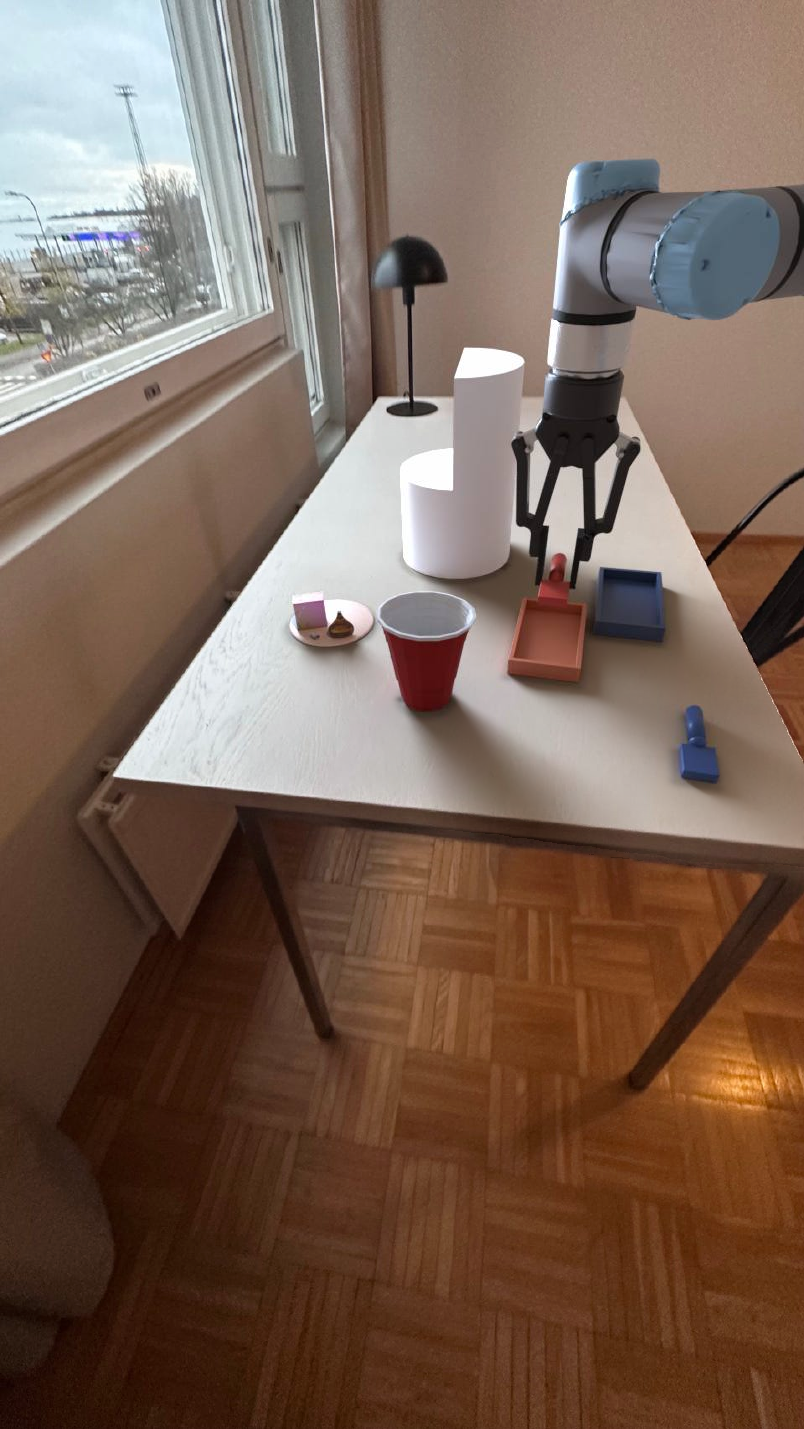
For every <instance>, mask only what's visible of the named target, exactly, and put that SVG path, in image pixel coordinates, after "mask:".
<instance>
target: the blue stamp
mask: <svg viewBox="0 0 804 1429" xmlns="http://www.w3.org/2000/svg"><path fill="white" fill-rule="evenodd" d="M684 717H685V727H686V736H687V743H686V742H681V743H680V745H679V747H678V757H679V758H678V760H679V768H680V778H681V779H687V780H694V781H699V782H700V781H701V782H707V783H714V784H716V783H718V780H719V778H720V770H719V764H718V763H719V762H718V757H717V750H716V747H714V746H707V744H708V742H707V741H708V740H707V735H706V734H707V733H706V725H705V718H704V711H703V708H702V707H700V706H699V705H697V704H690V705H688V706H687V707H686V709H685V711H684Z"/></svg>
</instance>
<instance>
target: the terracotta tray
mask: <svg viewBox="0 0 804 1429" xmlns="http://www.w3.org/2000/svg"><path fill="white" fill-rule="evenodd" d="M537 600H538V598H533V597H522V600H521V606H520V608H519V613H518V617H517V621H516V626H515V631H514V633H513V638H512V642H511V646H510V649H509V650H510V651H509V656H508V658H507V668H506V674H510V675H518V676H523V677H524V676H525V677H533V678H541V679H549V680H555V681H556V680H557V681H564V682H572V683H579V682H580V677H581V671H582V664H583V653H584V642H585V630H586V622H587V621H586V620H587V610H588V603H584V602H583V603H582V602H573V601H568V602H567V607H557V606H548V605H539V604H537Z"/></svg>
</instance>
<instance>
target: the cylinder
mask: <svg viewBox="0 0 804 1429" xmlns="http://www.w3.org/2000/svg"><path fill="white" fill-rule="evenodd" d="M525 363H526V362H525V360H524V358H523V357H522V356H521V355H519V354H517V353H514V352H510V351H507V350H503V349H502V350H501V349H496V348H485V347H464V348H463V350H462V354H461V357H460V360H459V362H458V366H457V368H456V371H455V374H454V377H453V412H452V413H453V414H452V415H453V419H452V423H453V424H452V448H443V449H436V450H435V449H433V450H430V451H426V452H422V453H419V454H417V455H414V456H411V457H410V458H409V459H407V460H406V461H404V462H403V463H402V465H401V466H400V472H399V475H400V497H401V498H400V499H401V500H400V502H401V516H402V517H401V521H402V522H401V524H402V525H401V526H402V527H401V528H402V548H403V550H402V552H403V559H404V561H405V563H406V564H407V565H408V566H409V567H410V568H412V570H414V571H416V572H418V573H420V574H423V575H426V576H429V577H435V578H438V579H447V580H466V579H473V578H479V577H483V576H486V575H488V574H492V573H494V572H495V571H497V570H499V569H500V568H502V567H503V566H504V565H505V564H506V563H508V560H509V557H510V551H511V537H512V526H513V514H514V513H513V512H514V502H515V501H514V499H515V498H514V497H515V490H516V488H515V487H516V486H515V485H516V475H517V461H516V458H515V455H514V452H513V449H512V447H511V443H512V440H513V438H514V435H515V433H516V432H518V431H520V425H521V411H522V401H523V400H522V399H523V387H524V386H523V385H524V374H525Z"/></svg>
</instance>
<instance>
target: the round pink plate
mask: <svg viewBox="0 0 804 1429" xmlns="http://www.w3.org/2000/svg"><path fill="white" fill-rule="evenodd" d="M291 600H292V608H293V612H294V615H293V616H292V617H291V619H290V621H289V624H288V629H289V633H290V634H291V636H292V637H293V638H294V639H295V640H297V641H299V642H300V643H303V644H305V645H308V646H314V647H320V648H321V647H322V648H326V647H327V648H329V647H338V646H339V647H340V646H344V645H348V644H351V643H353V642H355V641H358V640H360V639H362V638H363V637H365V636H366V635H367V634H368V633H369V632H370V631H372V628H373V626H374V625H375V624H374V623H375V617H374V614H373V612H372V611H371V610H370V609H369V608H368V607H367V606H365V605H364V604H362V603H359V602H357V601H354V600H349V599H324V594H323V591H322V590H320V591H312V592H304V593H297V594H291Z"/></svg>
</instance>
